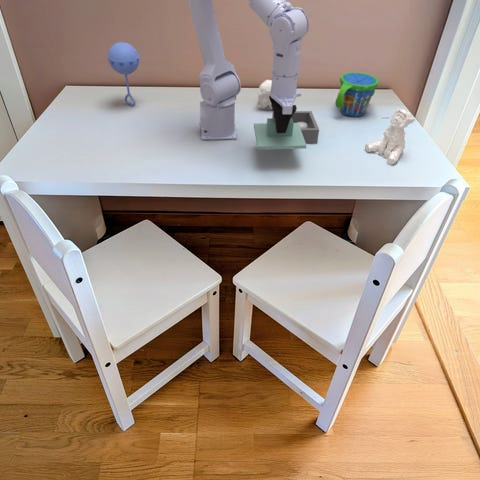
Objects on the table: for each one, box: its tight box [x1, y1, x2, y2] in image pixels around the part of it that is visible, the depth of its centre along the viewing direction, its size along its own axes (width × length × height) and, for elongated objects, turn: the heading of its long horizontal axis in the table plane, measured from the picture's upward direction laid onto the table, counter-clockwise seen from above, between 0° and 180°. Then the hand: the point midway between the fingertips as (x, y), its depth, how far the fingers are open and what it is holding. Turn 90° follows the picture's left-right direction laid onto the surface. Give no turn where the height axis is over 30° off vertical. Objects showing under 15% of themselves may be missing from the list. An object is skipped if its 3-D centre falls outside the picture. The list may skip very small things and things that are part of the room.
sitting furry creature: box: [364, 107, 416, 166], centre depth 101 cm, size 10×9×12 cm
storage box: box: [271, 110, 320, 145], centre depth 111 cm, size 11×11×4 cm
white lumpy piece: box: [257, 79, 272, 110], centre depth 123 cm, size 6×8×12 cm
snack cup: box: [334, 72, 379, 118], centre depth 119 cm, size 16×10×10 cm
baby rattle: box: [107, 41, 140, 107], centre depth 118 cm, size 9×9×18 cm
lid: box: [253, 117, 307, 150], centre depth 98 cm, size 11×11×5 cm
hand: (280, 129), depth 98 cm, fingers closed on lid, 2 cm apart
